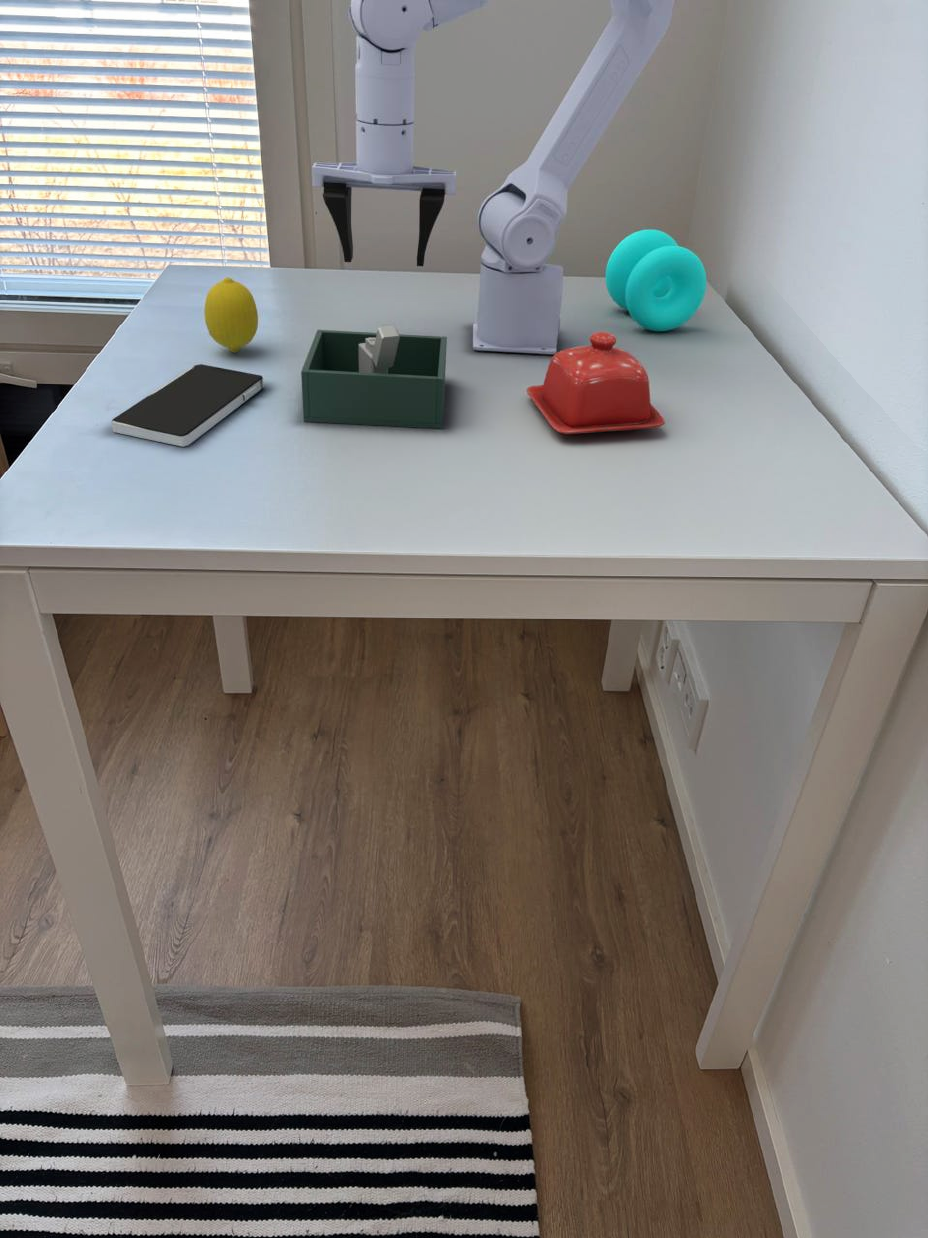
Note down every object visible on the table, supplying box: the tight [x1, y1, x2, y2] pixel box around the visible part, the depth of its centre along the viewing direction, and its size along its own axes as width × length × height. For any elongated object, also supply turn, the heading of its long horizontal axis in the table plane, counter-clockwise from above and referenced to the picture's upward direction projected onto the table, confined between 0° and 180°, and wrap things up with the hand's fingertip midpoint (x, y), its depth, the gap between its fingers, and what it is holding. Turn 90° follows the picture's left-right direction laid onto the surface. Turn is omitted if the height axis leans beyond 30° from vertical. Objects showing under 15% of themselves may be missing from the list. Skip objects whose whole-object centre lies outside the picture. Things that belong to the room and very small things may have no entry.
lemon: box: [203, 277, 259, 353], centre depth 102 cm, size 6×6×8 cm
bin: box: [300, 329, 448, 430], centre depth 94 cm, size 13×11×5 cm
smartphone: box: [111, 363, 265, 447], centre depth 92 cm, size 8×1×15 cm
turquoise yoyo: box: [605, 229, 707, 332], centre depth 117 cm, size 10×10×10 cm
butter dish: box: [525, 331, 666, 435], centre depth 93 cm, size 12×12×8 cm
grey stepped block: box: [359, 325, 400, 374], centre depth 93 cm, size 7×2×8 cm, turn 24°
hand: (384, 261), depth 102 cm, fingers open, 7 cm apart
